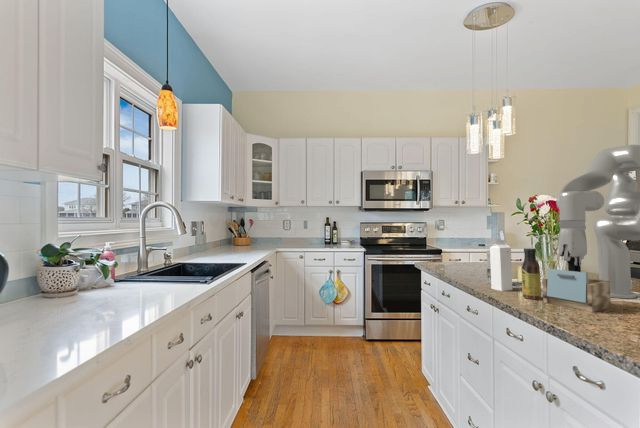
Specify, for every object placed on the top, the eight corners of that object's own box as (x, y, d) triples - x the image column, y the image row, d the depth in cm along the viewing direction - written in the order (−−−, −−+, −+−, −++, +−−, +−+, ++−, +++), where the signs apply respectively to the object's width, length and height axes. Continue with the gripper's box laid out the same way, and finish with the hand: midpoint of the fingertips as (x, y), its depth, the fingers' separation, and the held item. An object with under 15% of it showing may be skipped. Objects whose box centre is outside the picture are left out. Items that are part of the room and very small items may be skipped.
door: (545, 295, 124) (548, 295, 125) (584, 302, 113) (587, 302, 114) (546, 268, 125) (549, 268, 125) (584, 272, 114) (587, 272, 114)
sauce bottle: (524, 295, 137) (521, 247, 138) (542, 297, 133) (540, 247, 134) (521, 299, 132) (519, 248, 133) (540, 301, 128) (537, 248, 129)
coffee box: (498, 285, 159) (497, 251, 159) (487, 283, 165) (485, 250, 165) (512, 283, 162) (510, 250, 163) (500, 281, 168) (499, 249, 169)
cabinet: (562, 298, 131) (561, 275, 131) (610, 307, 117) (609, 281, 117) (542, 302, 126) (541, 278, 126) (591, 312, 112) (590, 285, 112)
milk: (512, 290, 149) (511, 240, 149) (501, 291, 147) (500, 240, 147) (501, 287, 154) (500, 239, 155) (490, 288, 153) (489, 240, 153)
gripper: (572, 225, 129) (574, 273, 128) (549, 225, 122) (551, 276, 122) (595, 225, 122) (598, 275, 122) (572, 225, 115) (574, 279, 115)
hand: (574, 276), depth 122 cm, fingers closed
